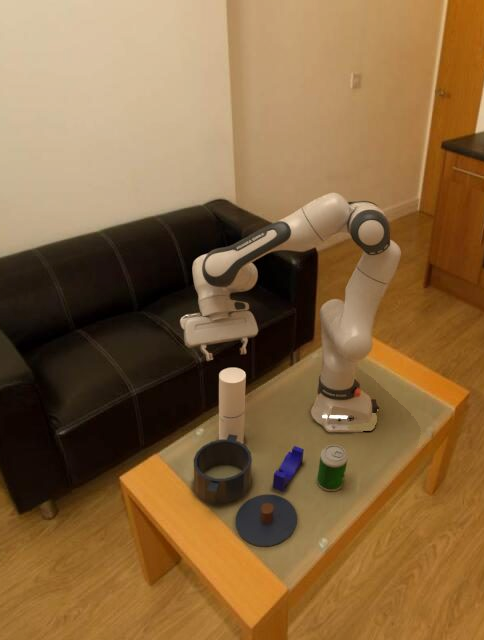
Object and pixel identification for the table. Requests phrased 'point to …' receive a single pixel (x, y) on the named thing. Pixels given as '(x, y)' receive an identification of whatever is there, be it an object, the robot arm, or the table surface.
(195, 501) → the table surface
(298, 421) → the table surface
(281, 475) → the cable clip
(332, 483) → the soda can
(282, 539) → the pot lid
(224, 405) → the cylindrical container
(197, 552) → the table surface
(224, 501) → the pot
